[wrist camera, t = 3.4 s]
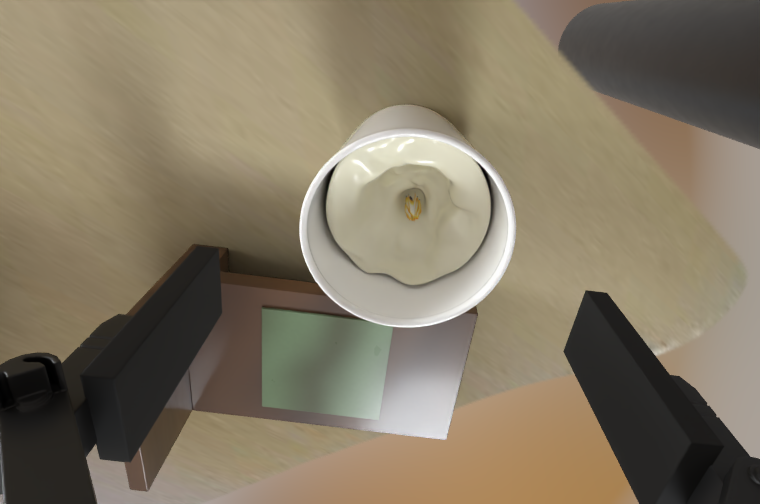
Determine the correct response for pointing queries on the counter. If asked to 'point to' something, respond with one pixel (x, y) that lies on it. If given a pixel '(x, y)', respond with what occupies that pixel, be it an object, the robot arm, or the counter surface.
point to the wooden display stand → (309, 367)
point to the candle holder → (407, 221)
